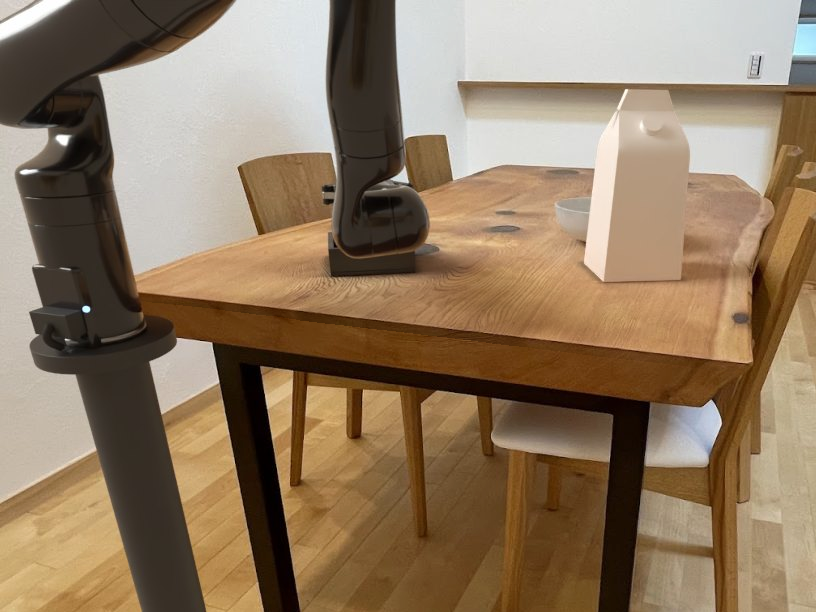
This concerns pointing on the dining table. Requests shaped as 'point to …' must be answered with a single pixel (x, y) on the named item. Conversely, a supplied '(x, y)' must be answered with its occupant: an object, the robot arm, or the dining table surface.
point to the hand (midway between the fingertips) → (365, 186)
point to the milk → (639, 192)
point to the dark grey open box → (368, 262)
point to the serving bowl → (574, 216)
